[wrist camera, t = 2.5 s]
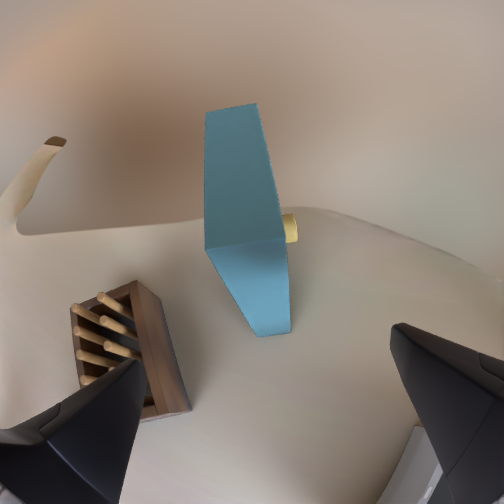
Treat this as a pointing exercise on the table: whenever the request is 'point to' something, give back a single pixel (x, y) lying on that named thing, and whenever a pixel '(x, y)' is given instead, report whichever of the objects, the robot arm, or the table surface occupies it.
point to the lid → (246, 219)
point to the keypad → (417, 475)
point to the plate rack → (129, 345)
